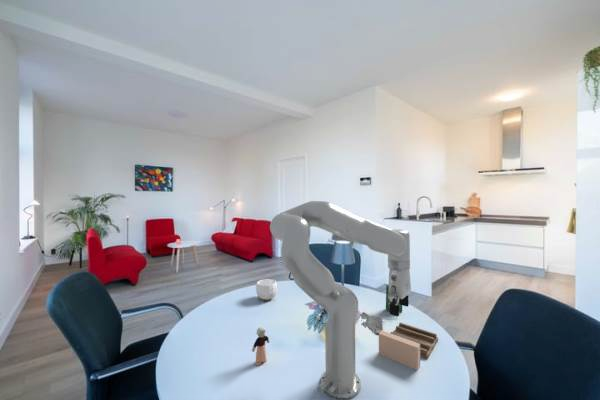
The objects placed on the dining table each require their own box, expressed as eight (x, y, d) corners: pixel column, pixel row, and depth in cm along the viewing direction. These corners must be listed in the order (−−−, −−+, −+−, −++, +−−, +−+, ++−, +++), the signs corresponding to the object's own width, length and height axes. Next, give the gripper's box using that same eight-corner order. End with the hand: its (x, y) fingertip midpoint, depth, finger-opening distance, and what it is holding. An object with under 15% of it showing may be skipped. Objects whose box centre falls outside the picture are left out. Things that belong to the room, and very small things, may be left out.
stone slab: (360, 311, 130) (381, 312, 127) (360, 315, 130) (381, 316, 128) (360, 331, 112) (384, 333, 110) (360, 335, 112) (384, 337, 110)
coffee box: (401, 309, 134) (401, 284, 133) (402, 312, 131) (402, 286, 130) (385, 308, 135) (385, 284, 135) (386, 311, 132) (386, 286, 132)
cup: (276, 302, 144) (276, 285, 144) (254, 303, 144) (254, 286, 144) (278, 294, 156) (278, 278, 156) (258, 294, 156) (258, 278, 156)
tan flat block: (417, 370, 88) (417, 347, 88) (378, 354, 97) (378, 333, 97) (420, 366, 90) (420, 343, 90) (382, 350, 100) (381, 330, 99)
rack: (427, 359, 94) (427, 352, 94) (385, 342, 104) (385, 336, 104) (438, 339, 106) (438, 334, 106) (399, 327, 116) (399, 321, 116)
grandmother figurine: (258, 369, 89) (258, 333, 89) (250, 365, 91) (250, 330, 91) (272, 357, 96) (272, 323, 96) (264, 353, 98) (264, 321, 98)
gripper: (400, 271, 84) (401, 322, 85) (416, 260, 97) (417, 304, 98) (378, 267, 89) (379, 316, 89) (397, 257, 102) (397, 299, 102)
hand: (399, 310), depth 93 cm, fingers open, 9 cm apart
